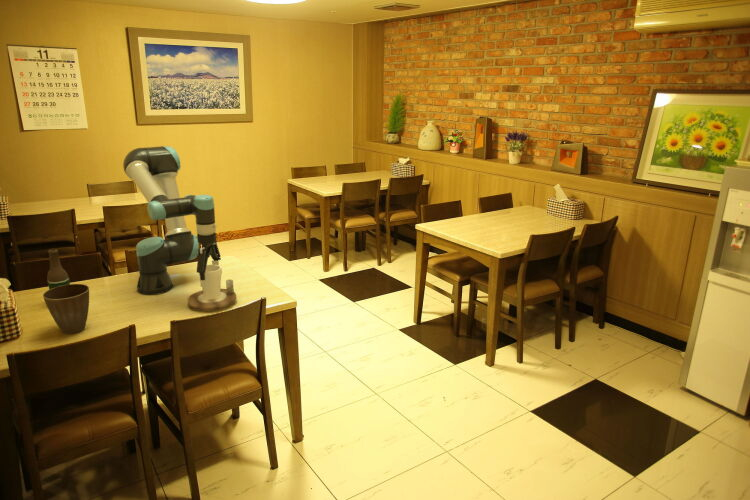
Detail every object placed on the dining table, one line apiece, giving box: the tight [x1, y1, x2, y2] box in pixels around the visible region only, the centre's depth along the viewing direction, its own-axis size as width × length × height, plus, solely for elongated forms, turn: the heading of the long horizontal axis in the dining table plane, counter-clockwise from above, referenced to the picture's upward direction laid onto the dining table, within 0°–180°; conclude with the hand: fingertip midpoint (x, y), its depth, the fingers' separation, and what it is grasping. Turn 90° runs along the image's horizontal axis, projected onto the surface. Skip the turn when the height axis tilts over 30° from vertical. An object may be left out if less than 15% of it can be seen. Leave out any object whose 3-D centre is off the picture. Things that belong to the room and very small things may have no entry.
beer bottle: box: [46, 248, 71, 290], centre depth 215 cm, size 8×8×24 cm
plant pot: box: [42, 283, 90, 335], centre depth 193 cm, size 15×15×16 cm
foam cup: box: [198, 264, 223, 300], centre depth 218 cm, size 10×9×13 cm
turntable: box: [187, 279, 237, 311], centre depth 219 cm, size 20×20×8 cm
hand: (210, 280), depth 218 cm, fingers open, 13 cm apart
